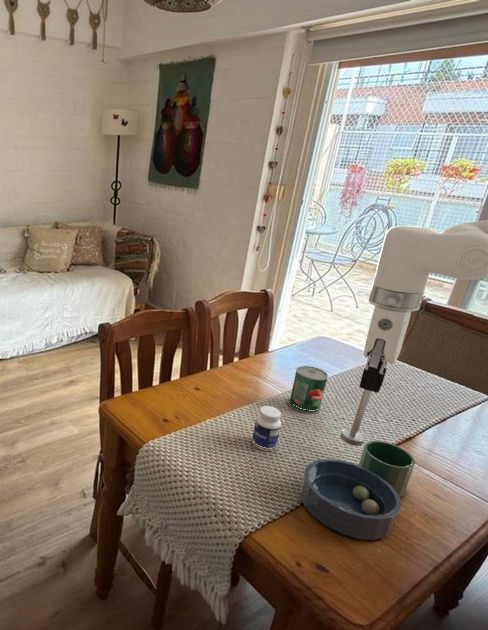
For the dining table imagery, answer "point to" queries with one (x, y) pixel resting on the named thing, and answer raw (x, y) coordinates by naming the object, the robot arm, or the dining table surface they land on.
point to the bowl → (348, 499)
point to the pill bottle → (267, 428)
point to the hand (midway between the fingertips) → (370, 386)
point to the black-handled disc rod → (357, 423)
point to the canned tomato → (308, 389)
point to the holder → (388, 463)
